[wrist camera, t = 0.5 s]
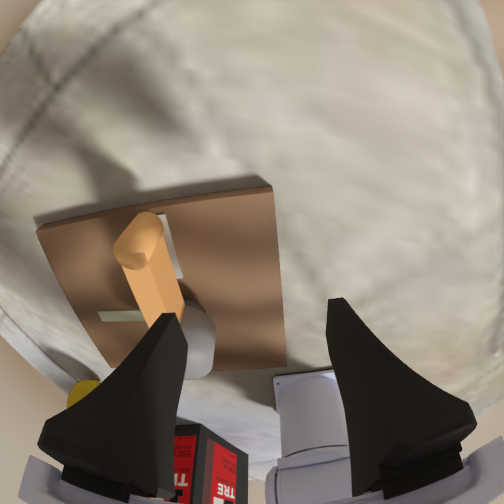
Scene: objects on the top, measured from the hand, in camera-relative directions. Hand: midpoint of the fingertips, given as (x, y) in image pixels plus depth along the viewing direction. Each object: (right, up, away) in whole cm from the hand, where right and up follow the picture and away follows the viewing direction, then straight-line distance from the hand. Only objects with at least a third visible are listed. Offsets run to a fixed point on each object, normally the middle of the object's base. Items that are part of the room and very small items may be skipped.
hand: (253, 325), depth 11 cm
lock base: (-7, -1, +12) cm, 14 cm away
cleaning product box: (-8, -30, +29) cm, 43 cm away
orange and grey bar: (-6, 0, +7) cm, 9 cm away
